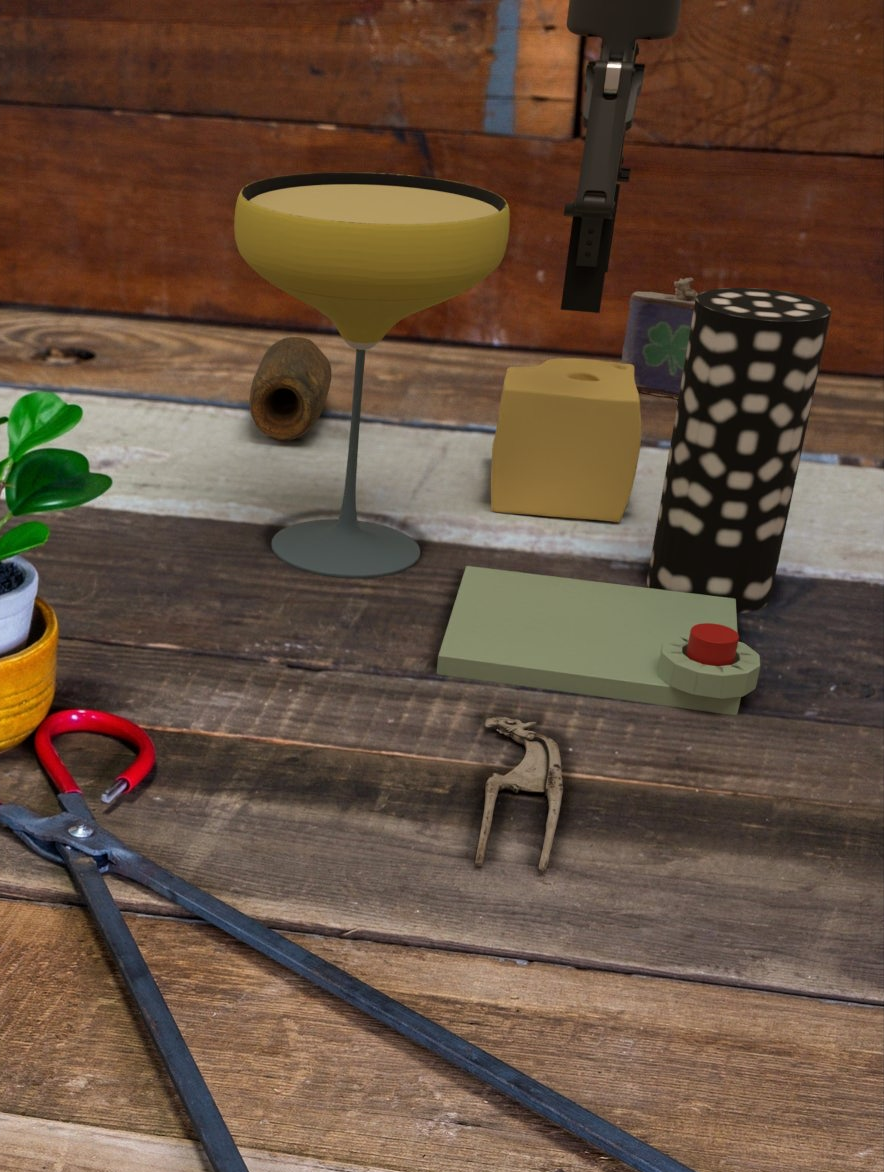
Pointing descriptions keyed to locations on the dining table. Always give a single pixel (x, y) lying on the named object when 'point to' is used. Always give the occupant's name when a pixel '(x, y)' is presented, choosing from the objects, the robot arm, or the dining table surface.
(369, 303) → the cocktail glass
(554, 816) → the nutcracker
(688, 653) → the button
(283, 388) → the brown hollow cylinder
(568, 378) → the cheese
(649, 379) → the flask
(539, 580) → the scale
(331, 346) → the dining table surface
